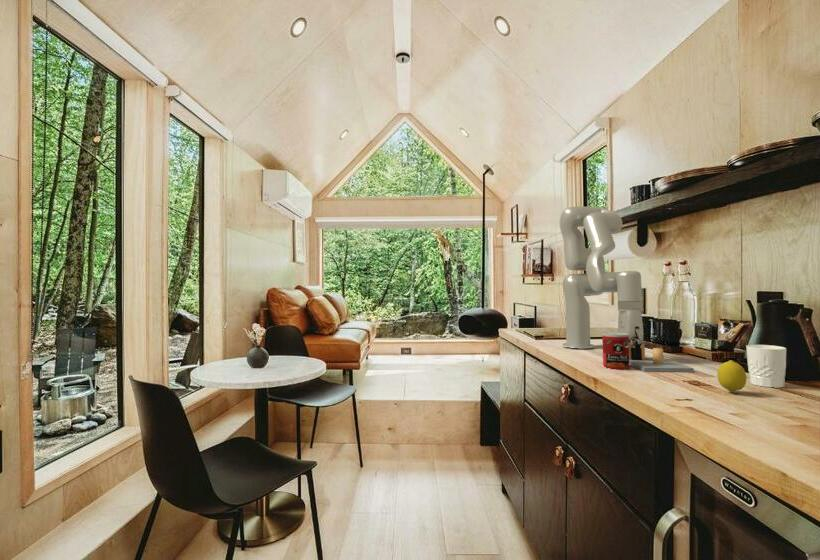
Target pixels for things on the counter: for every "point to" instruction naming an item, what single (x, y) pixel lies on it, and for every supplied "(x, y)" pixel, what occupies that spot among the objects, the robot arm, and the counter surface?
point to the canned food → (615, 350)
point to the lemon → (731, 376)
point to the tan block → (641, 349)
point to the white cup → (766, 365)
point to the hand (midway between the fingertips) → (632, 357)
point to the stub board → (659, 364)
